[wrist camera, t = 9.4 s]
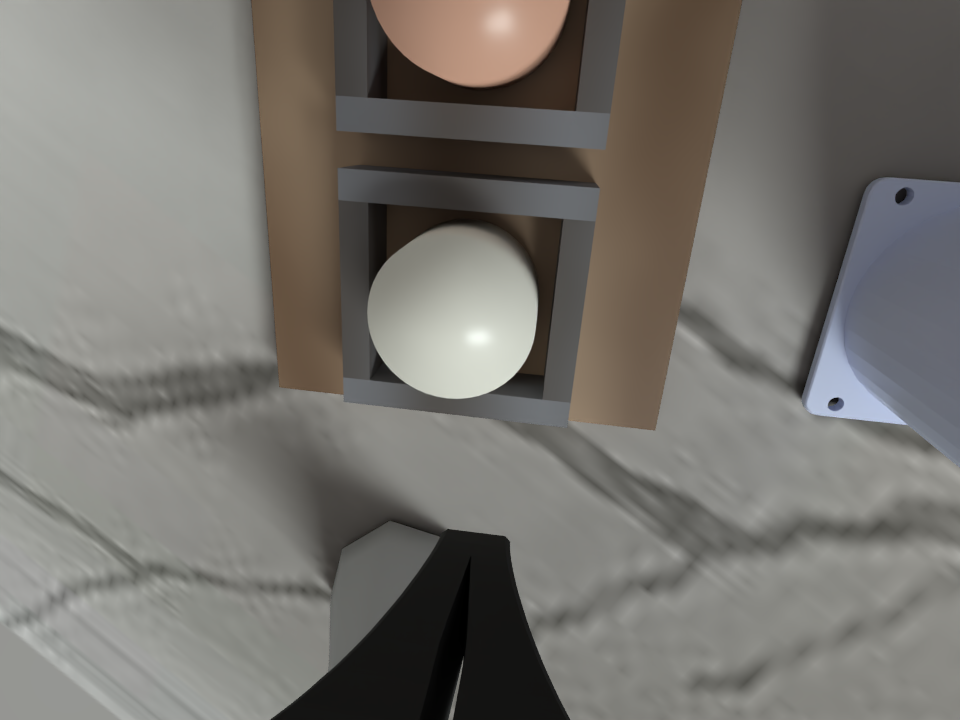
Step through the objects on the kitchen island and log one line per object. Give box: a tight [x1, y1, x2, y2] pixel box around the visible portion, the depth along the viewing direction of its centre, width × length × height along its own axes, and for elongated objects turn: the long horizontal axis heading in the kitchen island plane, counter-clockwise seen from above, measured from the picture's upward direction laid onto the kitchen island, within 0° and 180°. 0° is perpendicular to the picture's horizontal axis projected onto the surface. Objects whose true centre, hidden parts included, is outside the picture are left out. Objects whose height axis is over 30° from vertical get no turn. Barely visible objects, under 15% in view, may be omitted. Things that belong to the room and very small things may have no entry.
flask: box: [328, 521, 440, 672], centre depth 22 cm, size 7×7×10 cm
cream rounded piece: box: [367, 219, 539, 399], centre depth 18 cm, size 5×5×3 cm
